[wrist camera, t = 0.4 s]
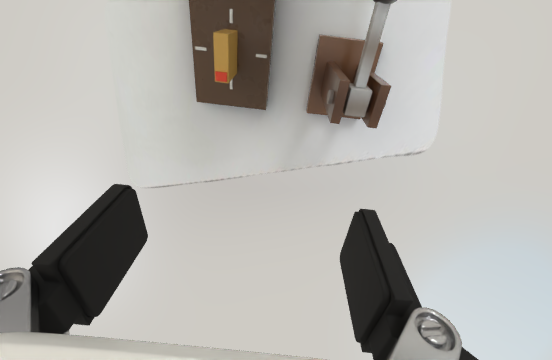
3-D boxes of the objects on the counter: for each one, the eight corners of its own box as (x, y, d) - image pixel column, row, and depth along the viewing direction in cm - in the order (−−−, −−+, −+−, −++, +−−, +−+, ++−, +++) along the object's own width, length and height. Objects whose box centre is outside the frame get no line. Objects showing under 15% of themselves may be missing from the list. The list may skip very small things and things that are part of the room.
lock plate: (192, -21, 30) (186, -23, 28) (276, -10, 30) (275, -12, 28) (200, 97, 38) (196, 102, 36) (266, 105, 38) (265, 110, 36)
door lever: (371, -42, 22) (382, -50, 19) (407, -38, 22) (423, -44, 19) (335, 106, 29) (340, 116, 26) (363, 109, 29) (370, 119, 26)
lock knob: (224, 28, 31) (212, 32, 26) (237, 30, 31) (227, 34, 26) (225, 72, 33) (214, 82, 29) (237, 73, 33) (228, 84, 29)
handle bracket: (319, 34, 32) (331, 45, 22) (380, 42, 32) (419, 55, 23) (306, 110, 38) (311, 145, 28) (358, 116, 38) (381, 153, 28)
